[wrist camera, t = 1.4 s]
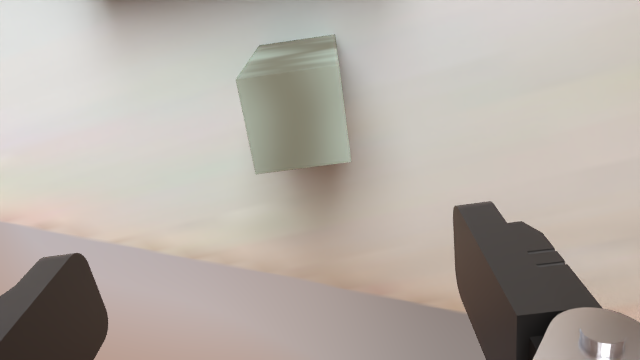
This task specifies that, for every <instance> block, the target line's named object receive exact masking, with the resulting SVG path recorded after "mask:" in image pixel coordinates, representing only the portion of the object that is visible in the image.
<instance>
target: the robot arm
mask: <svg viewBox="0 0 640 360" xmlns="http://www.w3.org/2000/svg"><path fill="white" fill-rule="evenodd" d="M453 226H454V250H455V271H456V279H457V285H458V289H459V293H460V297H461V299H462V302H463V304H464V307H465V309H466V312H467V314H468V316H469V319H470V321H471V324H472V326H473V329H474V331H475V334H476V336H477V338H478V341H479V343H480V346H481V348H482V351H483V353H484V355H485V358H486V360H640V323H639V322H638V321H636V320H634V319H632V318H631V317H628V316H626V315H624V314H621V313H618V312H615V311H612V310H607V309H603V308H602V307H601V306H600V305H599V303H598V302H597V301H596V300H595V298H594V297H593V296H592V295H591V293H590V292H589V291H588V290H587V288H586V287H585V286H584V285H583V283H582V282H581V281H580V280H579V278H578V277H577V276H576V275H575V273H574V272H573V271H572V270H571V268H570V267H569V266H568V265H567V264H566V265H565V261H564V260H563V258H562V257H561V256H560V255H559V253H558V252H557V251H555V249H554V247H553V246H552V244H551V243H550V242H549V241H548V239H547V238H546V237H545V236H544V234H543V233H541V232H540V231H538V230H536V229H534V228H532V227H531V226H529V225H527V224H525V223H524V222H522V221H521V222H513V223H507V222H506V221H505V219H504V218H503V217H502V215H501V214H500V212H499V211H498V209H497V208H496V207H495V205H494V204H493V203H492V202H491V201H489V202H481V203H474V204H466V205H458V206H455V207H454V210H453ZM107 330H108V317H107V312H106V308H105V306H104V303H103V300H102V298H101V295H100V293H99V290H98V288H97V285H96V282H95V280H94V277H93V275H92V272H91V270H90V267H89V264H88V262H87V260H86V259H85V257H84V256H83V255H81V254H79V253H74V254H66V255H58V256H50V257H43V258H41V259H40V260H39V261H38V262H37V263H36V264H35V265H34V266H33V267H32V268H31V269H30V270H29V272H28V273H27V274H26V275H25V276H24V277H23V278H22V279H21V280H20V282H18V283H17V285H16V286H14V287H13V288H12V289H10V290H9V291H7V292H6V293H4V294H3V295H1V296H0V360H93V359H94V358H95V356H96V354H97V353H98V351H99V349H100V347H101V345H102V344H103V342H104V340H105V337H106V335H107Z"/></svg>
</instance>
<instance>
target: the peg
mask: <svg viewBox="0 0 640 360" xmlns="http://www.w3.org/2000/svg"><path fill="white" fill-rule="evenodd" d="M236 83H237V88H238V93H239V97H240V102H241V107H242V112H243V116H244V121H245V126H246V131H247V135H248V140H249V145H250V150H251V154H252V159H253V164H254V168H255V173H256V174H262V173H270V172H278V171H285V170H293V169H301V168H308V167H316V166H324V165H331V164H339V163H347V162H351V155H350V147H349V139H348V132H347V124H346V116H345V108H344V100H343V92H342V84H341V76H340V68H339V61H338V54H337V48H336V41H335V35H328V36H321V37H314V38H307V39H301V40H294V41H287V42H280V43H273V44H266V45H260V46H259V47H258V48H257V50H256V51H255V53H254V54H253V56H252V57H251V58H250V60H249V61H248V63H247V64H246V66H245V67H244V68H243V70H242V71H241V73H240V74H239V76H238V77H237V79H236Z"/></svg>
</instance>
